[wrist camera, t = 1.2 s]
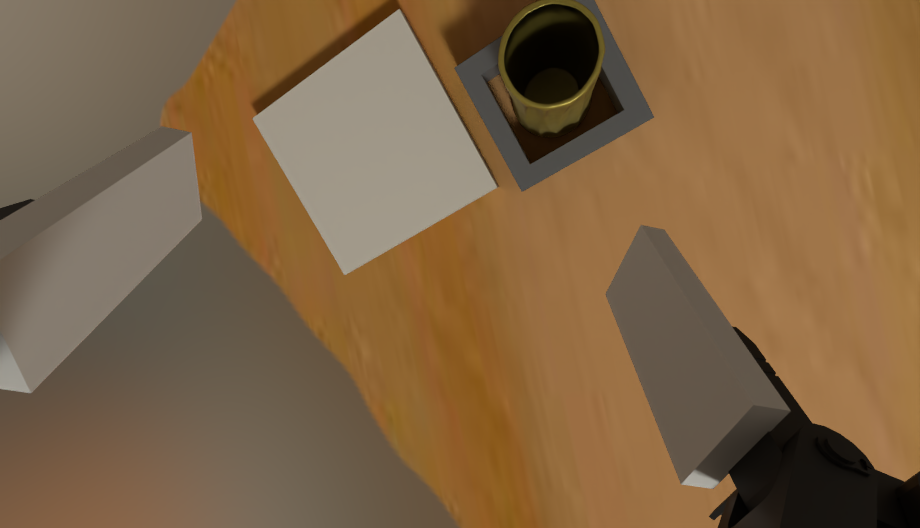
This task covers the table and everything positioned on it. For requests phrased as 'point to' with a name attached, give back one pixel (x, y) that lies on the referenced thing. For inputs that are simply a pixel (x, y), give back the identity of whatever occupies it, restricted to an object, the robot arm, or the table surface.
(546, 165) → the collar
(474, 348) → the table surface
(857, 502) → the robot arm
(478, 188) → the board
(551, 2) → the vase
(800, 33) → the table surface
